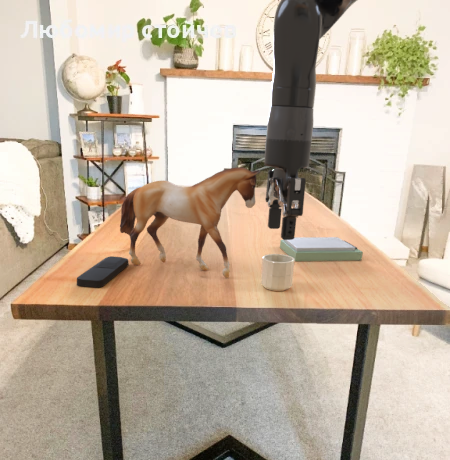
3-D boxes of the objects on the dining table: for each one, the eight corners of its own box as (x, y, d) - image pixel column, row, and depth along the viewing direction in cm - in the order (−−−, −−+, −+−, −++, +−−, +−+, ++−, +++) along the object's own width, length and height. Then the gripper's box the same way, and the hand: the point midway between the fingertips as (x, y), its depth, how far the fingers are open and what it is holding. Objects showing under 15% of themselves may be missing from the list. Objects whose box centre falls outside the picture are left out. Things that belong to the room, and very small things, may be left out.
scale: (340, 247, 113) (341, 236, 112) (361, 260, 102) (363, 248, 101) (279, 247, 110) (280, 236, 109) (295, 261, 99) (296, 249, 98)
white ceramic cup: (286, 281, 86) (289, 253, 84) (295, 291, 81) (298, 262, 79) (257, 281, 85) (259, 254, 83) (265, 292, 80) (267, 263, 78)
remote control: (101, 290, 79) (130, 264, 92) (100, 281, 78) (129, 255, 91) (75, 288, 79) (107, 262, 93) (74, 279, 78) (106, 254, 92)
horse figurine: (256, 273, 90) (263, 168, 82) (243, 284, 83) (250, 171, 75) (124, 253, 100) (119, 158, 92) (103, 262, 93) (97, 159, 85)
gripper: (326, 139, 67) (314, 243, 73) (296, 136, 80) (288, 225, 86) (279, 137, 66) (270, 243, 72) (256, 135, 79) (250, 224, 85)
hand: (280, 233), depth 79 cm, fingers open, 8 cm apart
